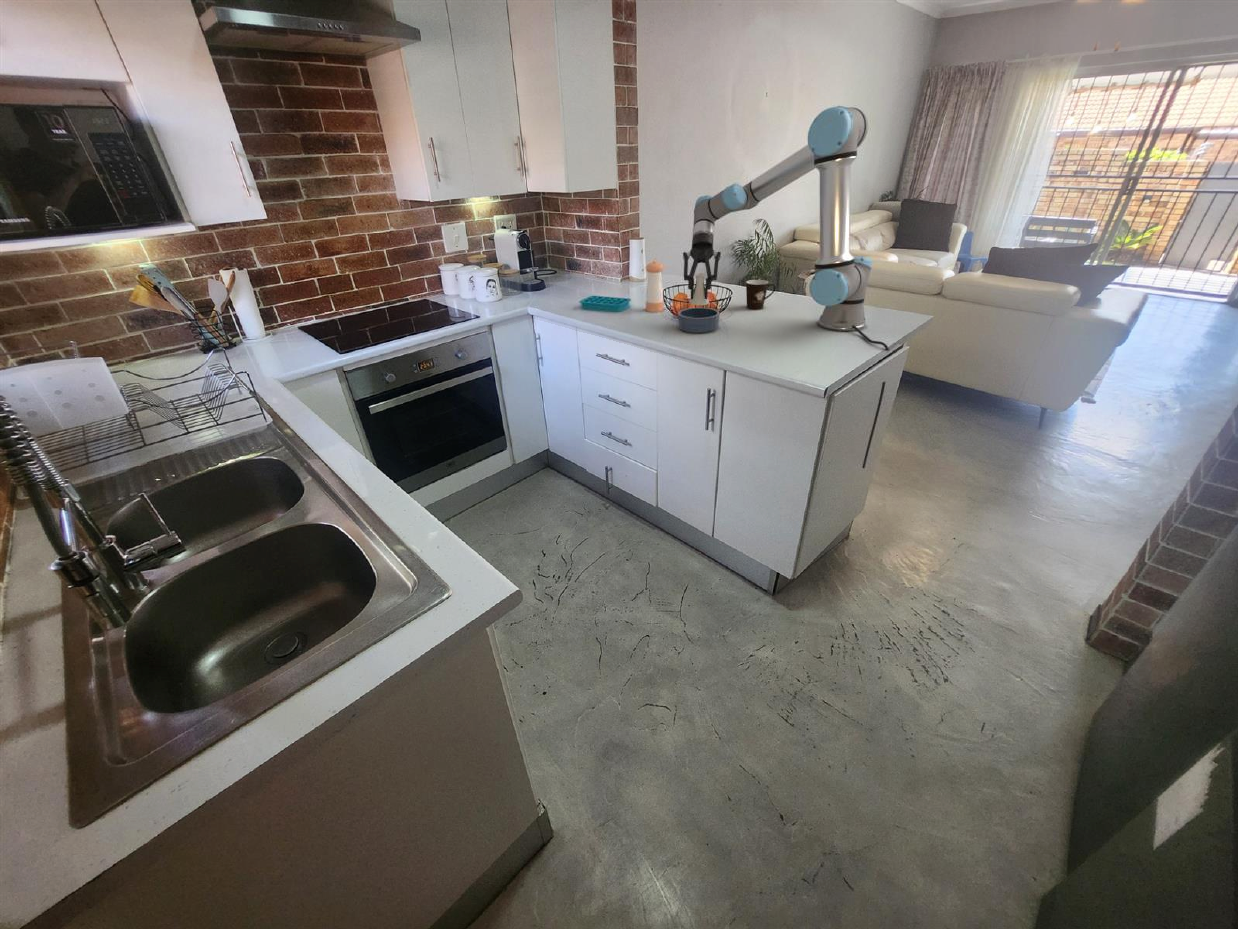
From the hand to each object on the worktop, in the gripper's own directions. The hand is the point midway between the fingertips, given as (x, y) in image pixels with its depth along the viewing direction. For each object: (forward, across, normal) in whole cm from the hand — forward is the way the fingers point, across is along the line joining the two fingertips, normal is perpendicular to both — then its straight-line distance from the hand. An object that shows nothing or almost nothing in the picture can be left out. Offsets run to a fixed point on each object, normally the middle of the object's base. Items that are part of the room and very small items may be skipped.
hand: (698, 296), depth 175 cm
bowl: (+6, 0, -11) cm, 13 cm away
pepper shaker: (-11, +19, -29) cm, 36 cm away
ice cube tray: (-14, +41, -32) cm, 53 cm away
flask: (0, 0, -5) cm, 5 cm away
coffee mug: (-14, -23, -31) cm, 41 cm away
